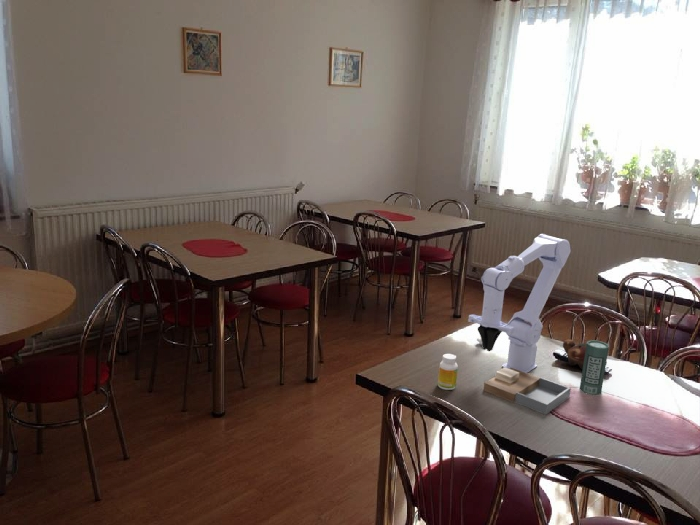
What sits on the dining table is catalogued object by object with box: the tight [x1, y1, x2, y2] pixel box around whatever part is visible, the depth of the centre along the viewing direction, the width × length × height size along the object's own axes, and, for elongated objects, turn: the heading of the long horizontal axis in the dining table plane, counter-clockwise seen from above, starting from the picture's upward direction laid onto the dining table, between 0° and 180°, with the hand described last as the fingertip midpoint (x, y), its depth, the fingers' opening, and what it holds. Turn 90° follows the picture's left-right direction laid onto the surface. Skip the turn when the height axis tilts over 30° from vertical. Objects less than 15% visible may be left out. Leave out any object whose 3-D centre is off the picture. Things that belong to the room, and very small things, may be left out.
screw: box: [476, 335, 483, 347], centre depth 217 cm, size 13×5×5 cm
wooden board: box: [483, 368, 540, 403], centre depth 187 cm, size 16×10×2 cm, turn 137°
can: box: [579, 339, 610, 396], centre depth 186 cm, size 6×6×15 cm
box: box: [514, 376, 572, 415], centre depth 180 cm, size 15×10×3 cm, turn 137°
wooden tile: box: [495, 367, 519, 383], centre depth 187 cm, size 5×5×2 cm
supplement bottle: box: [437, 353, 459, 391], centre depth 185 cm, size 5×5×10 cm
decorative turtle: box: [562, 339, 608, 370], centre depth 204 cm, size 10×15×8 cm, turn 46°
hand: (487, 349), depth 191 cm, fingers closed
